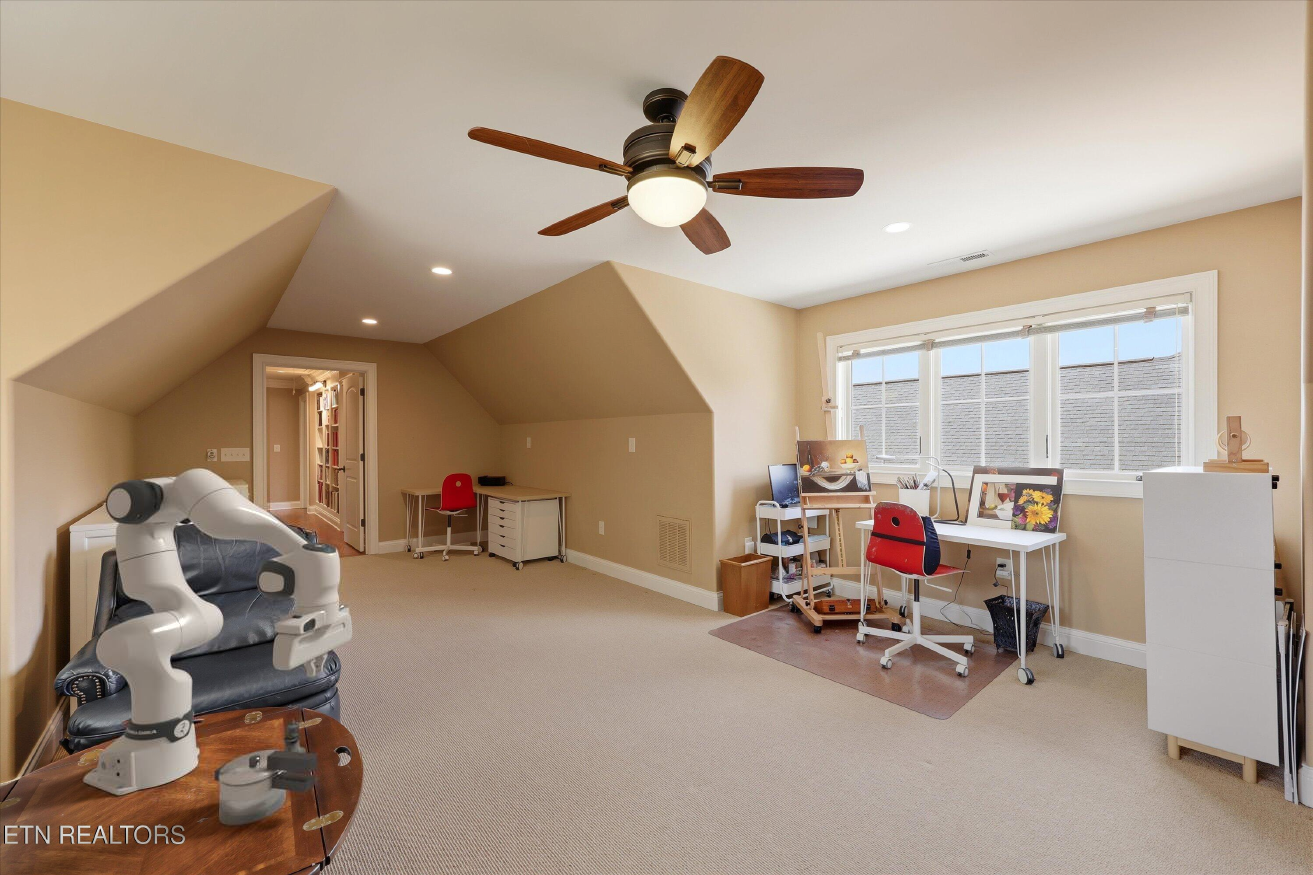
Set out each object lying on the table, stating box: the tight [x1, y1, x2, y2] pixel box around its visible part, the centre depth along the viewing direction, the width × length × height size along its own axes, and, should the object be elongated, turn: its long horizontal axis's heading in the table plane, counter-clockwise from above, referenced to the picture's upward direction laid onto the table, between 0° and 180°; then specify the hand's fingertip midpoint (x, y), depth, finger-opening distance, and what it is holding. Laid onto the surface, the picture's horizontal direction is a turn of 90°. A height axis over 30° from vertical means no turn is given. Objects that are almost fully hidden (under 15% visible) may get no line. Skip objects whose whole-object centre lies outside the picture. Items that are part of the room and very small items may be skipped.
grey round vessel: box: [283, 718, 307, 773], centre depth 141 cm, size 6×6×12 cm
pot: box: [214, 763, 316, 826], centre depth 125 cm, size 23×12×8 cm, turn 80°
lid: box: [218, 749, 318, 786], centre depth 125 cm, size 20×12×4 cm, turn 84°
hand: (314, 674), depth 131 cm, fingers closed
